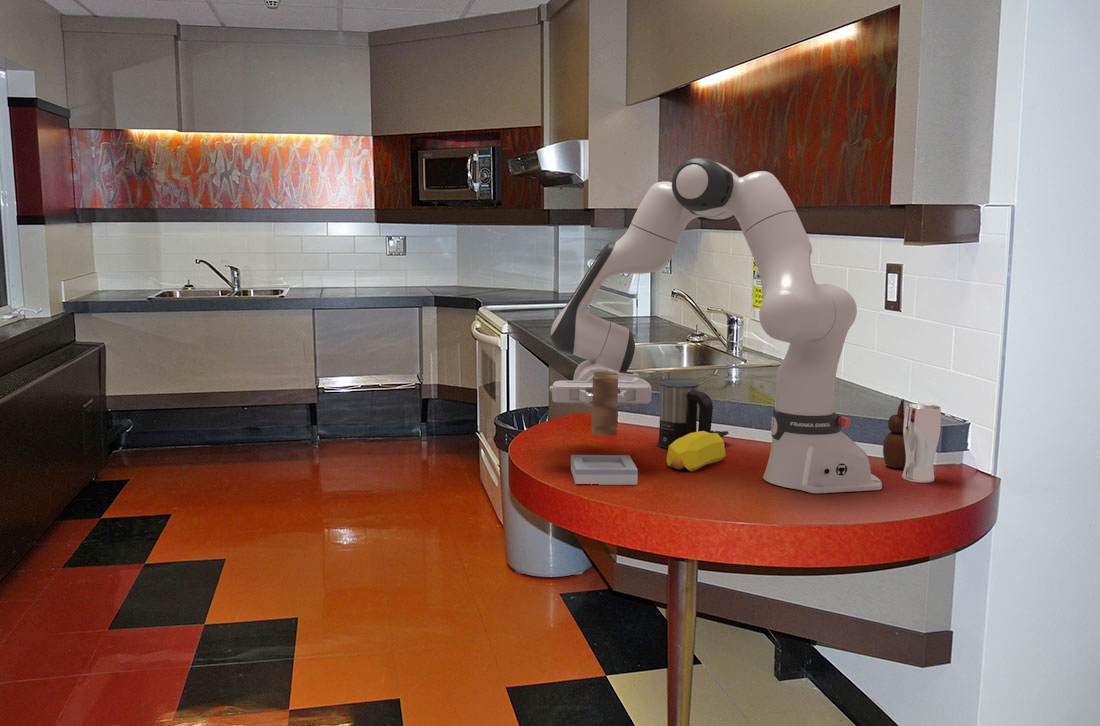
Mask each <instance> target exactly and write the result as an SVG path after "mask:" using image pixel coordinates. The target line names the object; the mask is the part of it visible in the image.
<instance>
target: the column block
mask: <svg viewBox="0 0 1100 726" xmlns="http://www.w3.org/2000/svg"><path fill="white" fill-rule="evenodd" d="M618 379H619V375H618V374H617V373H616V372H608V371H593V387H592V393H593V394H594V398H593V399H594V403H592V408H591V423H590V424H591V425H590V428H591V429H590V431H591V433H592V435H593V436H617V427H618V426H617V423H618V405H617V399H618Z"/></svg>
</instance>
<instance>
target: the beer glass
mask: <svg viewBox="0 0 1100 726" xmlns="http://www.w3.org/2000/svg"><path fill="white" fill-rule="evenodd" d="M941 410H942V407H941V406H938V405H935V404H929V403H916V402H915V403H907V404H905V408H904V423H903V438H904V447H905V467H904V468H903V471H902V475H901V478H902V479H903V480H906V481H908V482H912V483H919V484H920V483H921V484H928V483H934V481H935V474H934V461H935V456H936V452H937V448H938V446H939V445H938V444H939V441H940V436H941V429H942V428H941V426H942V425H941V424H942V413H941V412H942V411H941Z"/></svg>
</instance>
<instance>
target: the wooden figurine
mask: <svg viewBox="0 0 1100 726" xmlns="http://www.w3.org/2000/svg"><path fill="white" fill-rule="evenodd" d="M904 406H905V399H904V398H902V399H900V403H899V405H898V408H897V413H896V414H892V415H891V416H890V417H889V418H888V423H887V428H888V430H889V431H890V432H888V433H887V434H886V435H885V438H884V440H883V444H882V455H883V456H882V457H883V459H884V464H885V465H886V466H888V468H891V467H893V468H892V469H895V468H903V469H904V467H905V447H904V438H903V423H904V415H905V407H904Z"/></svg>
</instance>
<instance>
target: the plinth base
mask: <svg viewBox="0 0 1100 726" xmlns="http://www.w3.org/2000/svg"><path fill="white" fill-rule="evenodd" d="M570 471H571V474H572V477H573V481H574V485H576V484H591V485H592V484H599V486H600V485H601V486H604V485H605V486H611V485H612V486H614V485H615V486H626V485H627V486H628V485H629V486H638V479H639V478H638V477H639V476H638V475H639V474H638V473H639V472H638V471H639V470H638V468H637V465H636V464H635V462H634V461H633V459H632V457H631V456H630V455H629V454H622V455H621V454H571V455H570ZM592 486H593V485H592Z"/></svg>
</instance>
